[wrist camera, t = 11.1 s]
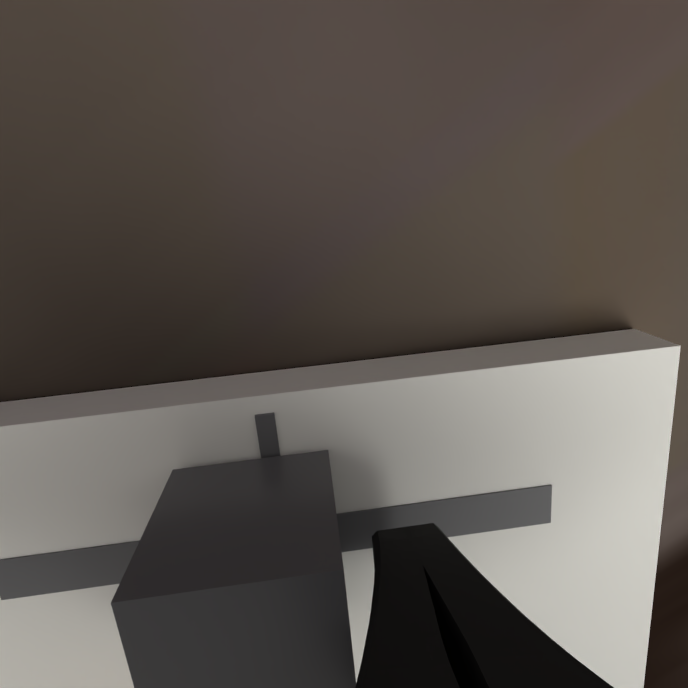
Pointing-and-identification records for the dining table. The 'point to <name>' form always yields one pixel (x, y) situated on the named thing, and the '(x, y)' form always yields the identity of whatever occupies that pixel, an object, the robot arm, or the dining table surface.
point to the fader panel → (360, 487)
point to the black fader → (239, 581)
